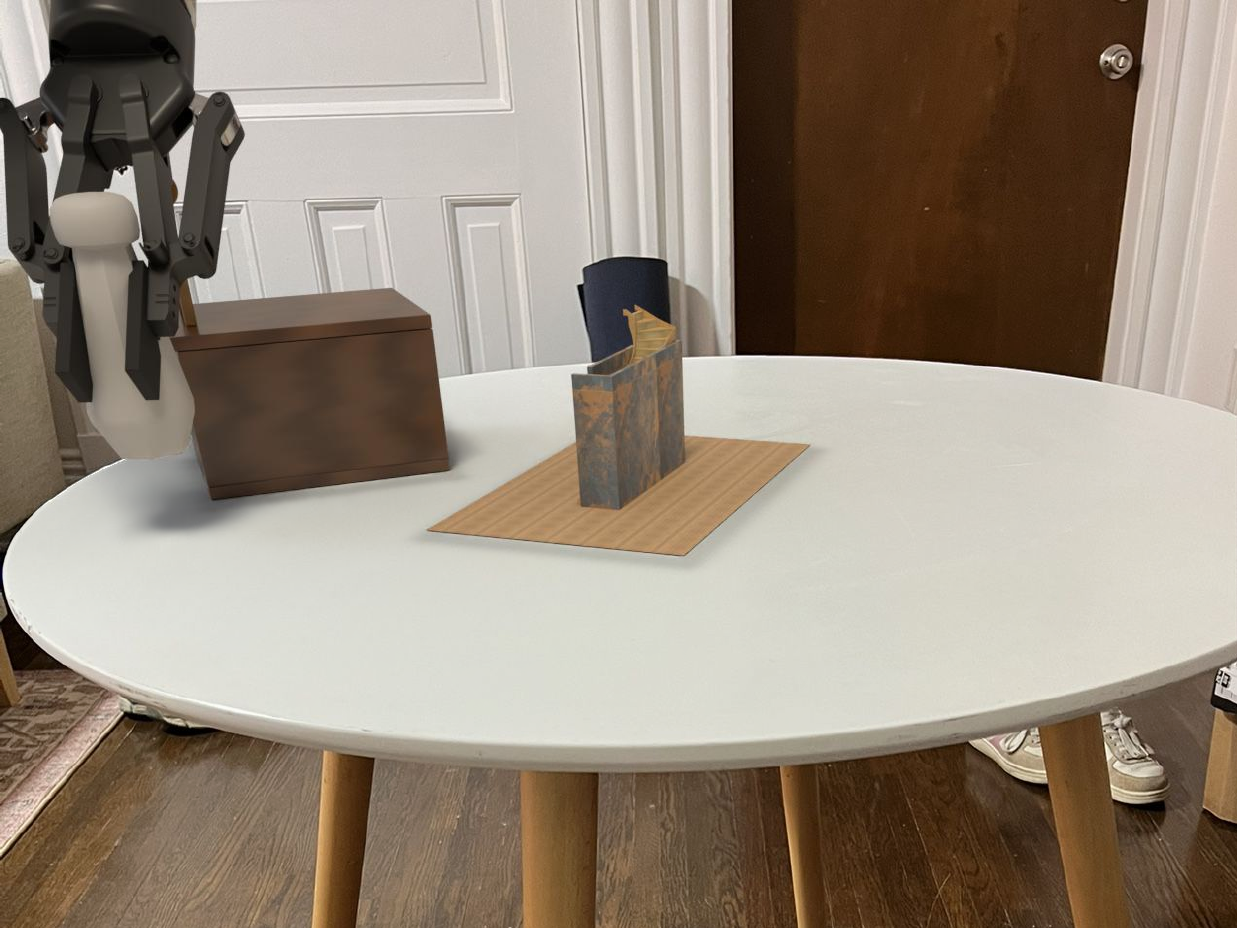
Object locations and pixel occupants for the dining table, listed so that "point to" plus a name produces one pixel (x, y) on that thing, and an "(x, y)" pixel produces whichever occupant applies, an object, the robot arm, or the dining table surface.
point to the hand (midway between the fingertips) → (108, 385)
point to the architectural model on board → (629, 463)
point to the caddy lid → (292, 317)
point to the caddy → (316, 412)
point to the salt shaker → (119, 330)
